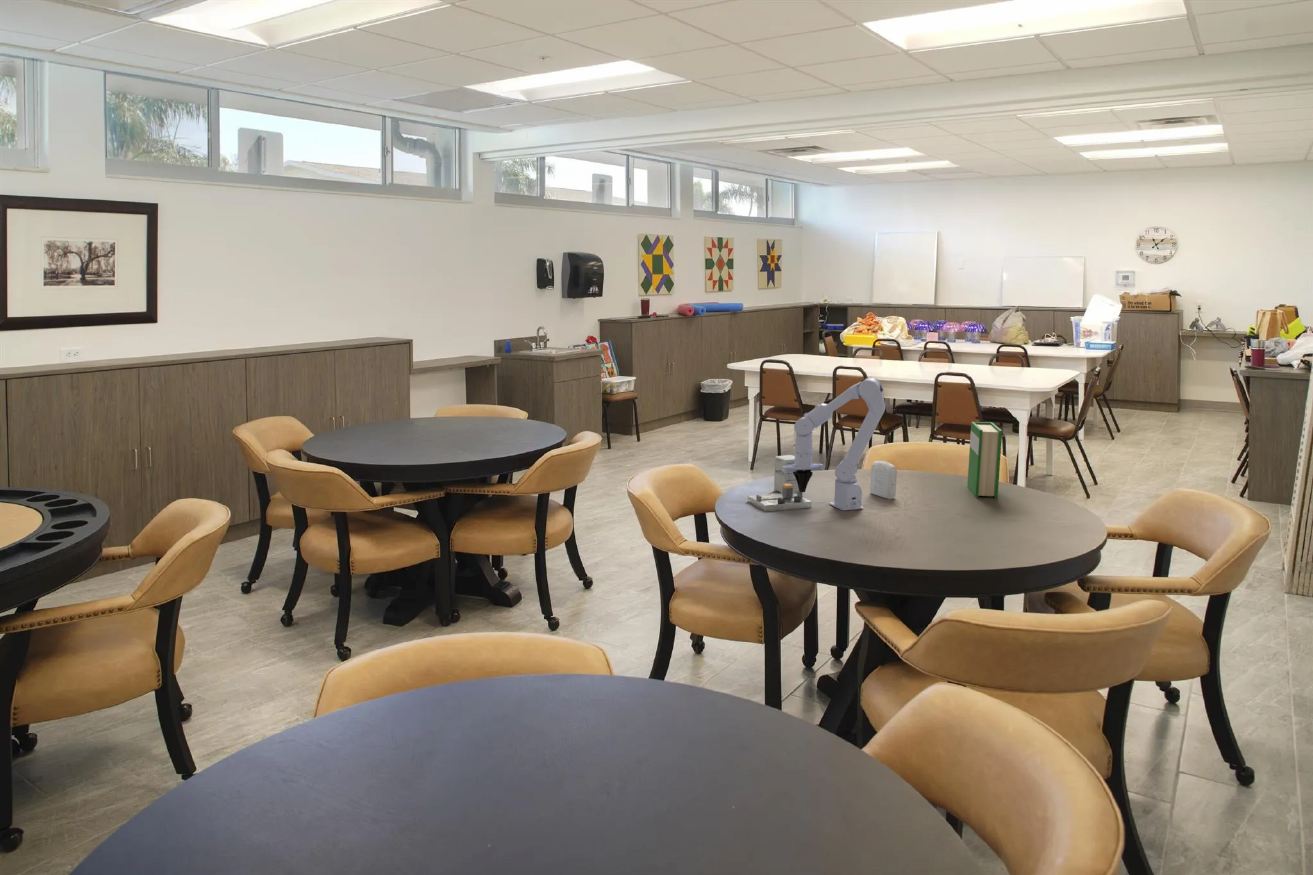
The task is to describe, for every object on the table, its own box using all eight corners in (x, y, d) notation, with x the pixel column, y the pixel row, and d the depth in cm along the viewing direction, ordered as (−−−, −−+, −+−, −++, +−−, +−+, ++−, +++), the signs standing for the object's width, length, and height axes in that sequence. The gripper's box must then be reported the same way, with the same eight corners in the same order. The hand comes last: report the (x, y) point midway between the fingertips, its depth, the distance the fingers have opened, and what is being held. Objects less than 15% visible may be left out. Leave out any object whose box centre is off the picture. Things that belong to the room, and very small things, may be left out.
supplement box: (773, 490, 336) (774, 456, 334) (790, 488, 339) (791, 454, 337) (784, 494, 329) (785, 459, 327) (802, 492, 332) (803, 458, 330)
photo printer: (897, 498, 325) (899, 463, 323) (887, 499, 323) (889, 464, 321) (877, 492, 334) (878, 458, 332) (868, 493, 332) (869, 459, 330)
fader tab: (793, 498, 315) (793, 485, 315) (786, 498, 314) (786, 485, 314) (788, 495, 318) (789, 483, 318) (781, 496, 317) (782, 483, 317)
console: (811, 507, 312) (811, 496, 311) (765, 511, 307) (765, 500, 306) (792, 497, 325) (792, 487, 324) (747, 501, 320) (748, 491, 319)
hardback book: (997, 498, 325) (1002, 430, 321) (975, 497, 326) (979, 430, 322) (988, 487, 342) (992, 422, 338) (967, 486, 343) (971, 421, 339)
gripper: (817, 449, 321) (815, 487, 324) (778, 451, 317) (777, 490, 319) (826, 453, 315) (825, 492, 317) (788, 455, 310) (786, 495, 313)
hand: (802, 491), depth 318 cm, fingers closed
